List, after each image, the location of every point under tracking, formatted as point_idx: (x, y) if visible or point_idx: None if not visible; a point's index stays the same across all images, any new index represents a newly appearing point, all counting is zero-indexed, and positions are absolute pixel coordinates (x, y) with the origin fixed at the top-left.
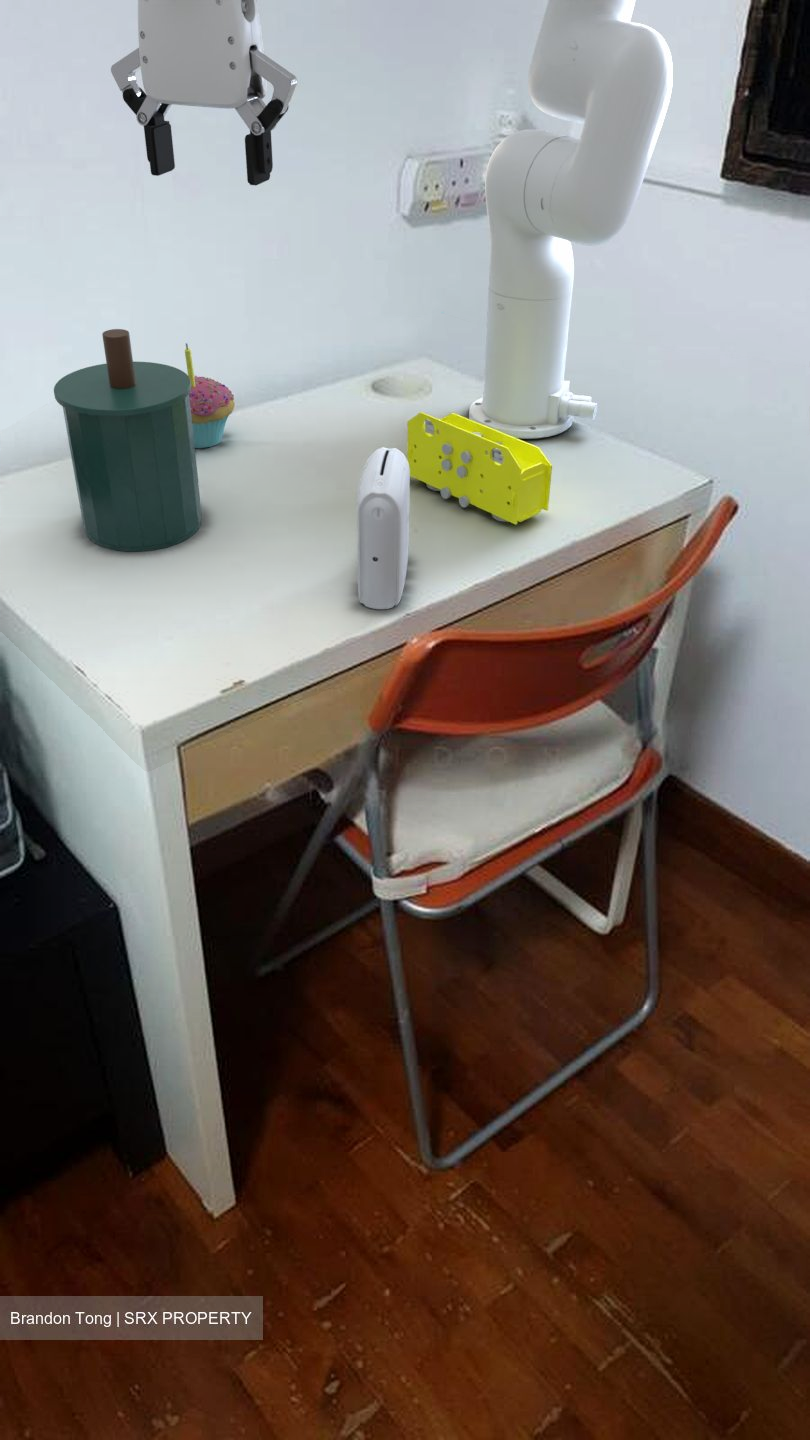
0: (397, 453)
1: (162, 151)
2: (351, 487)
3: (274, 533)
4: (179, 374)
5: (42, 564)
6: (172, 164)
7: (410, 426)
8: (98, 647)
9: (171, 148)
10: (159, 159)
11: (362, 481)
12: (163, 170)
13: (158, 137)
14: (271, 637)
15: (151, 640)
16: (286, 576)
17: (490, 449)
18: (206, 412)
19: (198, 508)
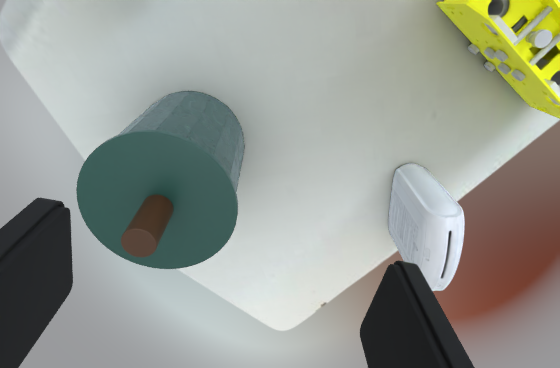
0: (459, 240)
1: (35, 304)
2: (372, 29)
3: (310, 138)
4: (210, 168)
5: None
6: (61, 223)
7: (466, 7)
8: (234, 288)
9: (30, 252)
10: (49, 308)
11: (423, 274)
12: (69, 271)
13: (5, 363)
14: (334, 266)
15: (262, 279)
16: (332, 200)
17: (551, 97)
18: None
19: (242, 142)
